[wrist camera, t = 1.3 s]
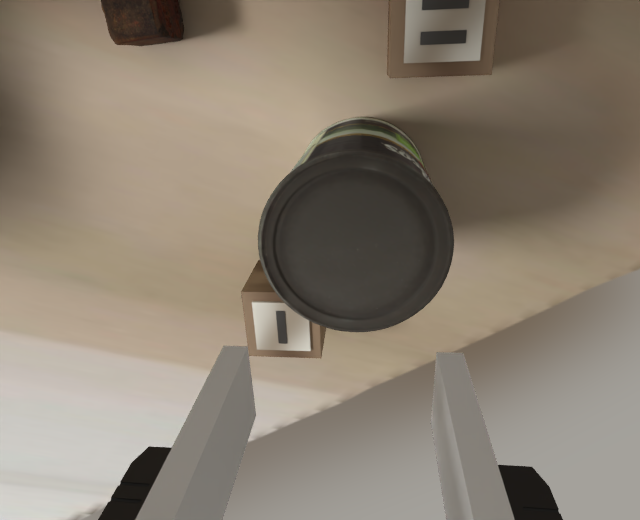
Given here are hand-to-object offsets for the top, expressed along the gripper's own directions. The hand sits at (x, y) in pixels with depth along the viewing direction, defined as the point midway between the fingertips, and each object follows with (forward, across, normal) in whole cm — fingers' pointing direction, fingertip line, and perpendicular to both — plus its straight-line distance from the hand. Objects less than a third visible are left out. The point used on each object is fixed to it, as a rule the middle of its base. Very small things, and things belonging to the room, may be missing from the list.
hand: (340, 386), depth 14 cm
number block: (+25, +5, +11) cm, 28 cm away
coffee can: (+25, 0, 0) cm, 25 cm away
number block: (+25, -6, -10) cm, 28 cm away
